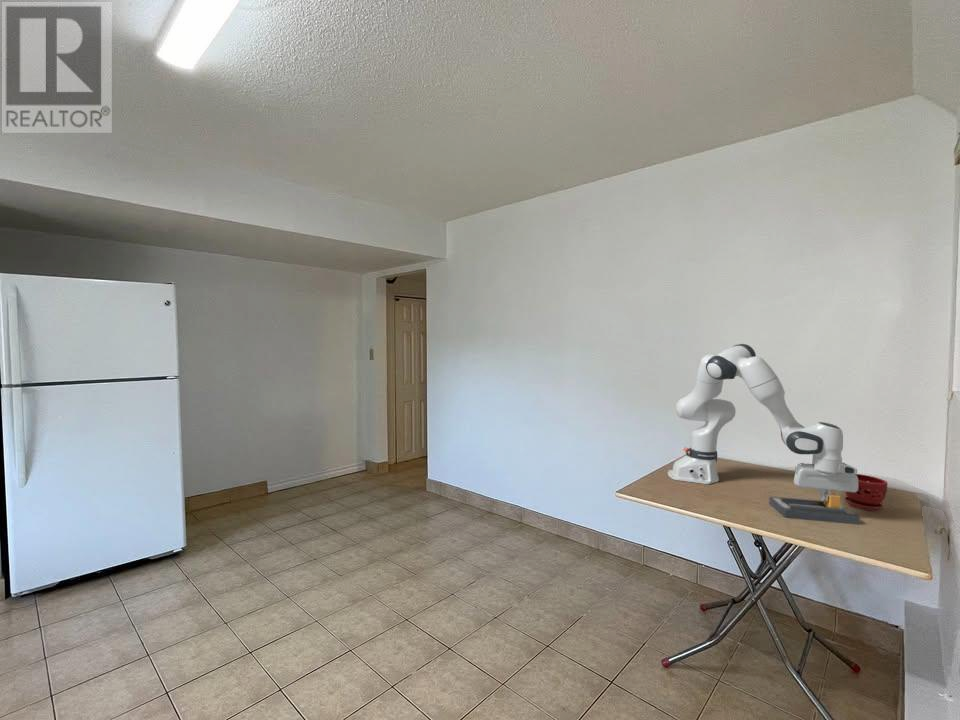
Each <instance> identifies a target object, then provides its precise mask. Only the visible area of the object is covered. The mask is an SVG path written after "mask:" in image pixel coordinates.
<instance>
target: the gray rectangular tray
mask: <svg viewBox="0 0 960 720" xmlns="http://www.w3.org/2000/svg"><path fill="white" fill-rule="evenodd" d="M768 499H769V505H770V506H771V507H772V508H773V507H774V508H773V509H775V511H777V512H778V513H779V515H781V516H782V517H783V518H785V519H796V520H797V519H798V520H808V521H818V522H819V521H820V522H829V523H841V524H850V525H860V515H859V514H856V513H855V512H853V510H850V509H848V508H847V507H846V506H844V505H842V504H841V503H840V508H835V507H827V506H825V505H824V501H822V500H821V499H807V498H798V497H797V498H796V497H785V496H781V497H777V496H776V497H775V496H769V498H768Z"/></svg>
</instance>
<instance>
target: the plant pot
mask: <svg viewBox="0 0 960 720" xmlns="http://www.w3.org/2000/svg"><path fill="white" fill-rule="evenodd" d="M855 475H857V477H858V491H857V492H845V495H846V497H844V501H845V503H847V504H848V505H850V506H851V507H854V508H856V509H861V510H867V511H879V510H882V509H883V504H882V503H883V502H884V500H885V497H886V495H887V491H888V484H889V483H888V482H887V481H886V480H884V479H881V478H879V477H875V476H870V475H866V474H860V473H859V474H858V473H856V474H855Z"/></svg>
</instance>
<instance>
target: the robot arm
mask: <svg viewBox="0 0 960 720" xmlns="http://www.w3.org/2000/svg"><path fill="white" fill-rule="evenodd" d="M736 377H739V378H741V379H742V381H743V382H744V384H745V385H746V387H747V388H748V390H749V392H750V393H751V395H753V397H754V398H755V399H756V400H757V401H758V402H759V403H760V404H761V405H763V406H764V407H766V408H767V410H768V411H769V412H770V413H771V415H772V416H773V418H774V419H775V422H776V423H777V425H778V427H779V428H780V437H781V440H782V443H784V445H785V446H786V447H787V448H788V450H790V451H791V452H793V453H794V454H797V455H812V460H811V461H812V463H805V462H800V463H798V464H796V465H795V468H794V471H795V473H794V478H793V483H794V484H795V486H797V487H798V488H804V489H814V490H817V491H818V494H819V496H820V500H822V501H828V497H829V495H830V494H831V493H832V492H833V491H836V492H857V491H858V488H859V487H858V477H857V475H855V474H858V469H857V467H853V466H852V465H850V464H847V463H845V462H843V457H842V452H843V450H844V449H843V448H844V434H843V433H844V432H843V430H842V429H841V428H840V427H839V426H837V425H835V424H832V423H829V422H824V421H818V422H817V423H815V424H813V425H809V426H806V427H805V426H804V425H802V424H801V423H799V422H798V421H797V419H796V418H795V417H794V414H792V411H790V409H789V407H788V405H787V404H786V400H785V390H784V389H785V388H784V387H783V384H782V383H781V380H780V379H779V377H778V376H777V374H776V372H775V371H774V369H773V368H772V367H771V366H770V365H769V364H768V363H767V361H765V359H763V358H762V357H760V356H757V355H756V352H755V350H754V349H753V347H752V346H750V345H749V344H745V343H738V344H735V345H733V346H731V347H727V348H726V349H723V350H722V351H720V352H718V353H717V354H715V353H714V354H713V353H711V354H706V355H704V356H703V357H702V358H701V360H700V362H699V365H698V367H697V371H696V378H695V384H694V386H693V387H694V388H693V389H692V391H690V392H689V394H687V395H686V396H684V397H682V398H679V400H678V401H677V402H676V404H675V412H676V415H677V416H678V417H679V419H683V420H686V421H687V420H688V421H698V422H705V423H704V425H703V426H700V427H697V428H696V429H693V431H692V432H691V434H690V437H691V438H690V447H689V448H688V447H687V446H686V447H683V451H684V452H685V455H684V456H682V457H681V458H678V459H677V460H675V461H674V463H673V466H672V469H668V470H667V475H668V477H669V478H670V479H672V480H675V481H682V482H689V483H695V484H696V483H697V484H703V485H711V484H714V483H718V482H719V481H720V478H719V475H718V468H717V462H718V451H717V444H718V437H719V433H720V431H721V430H722V429H723V427H725V425H726V424H728V423H729V422H731V421H732V420H733V419H734V418H735V416H736V413H737V412H736V411H737V410H736V406H735V405H734V404H733V402H731V401H730V400H726V399H721V398H718V396H719V395H721V393H722V390H723V384H724V380H734V379H735V378H736ZM824 492H825V494H824Z"/></svg>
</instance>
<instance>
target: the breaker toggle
mask: <svg viewBox="0 0 960 720" xmlns="http://www.w3.org/2000/svg"><path fill="white" fill-rule="evenodd" d="M825 492H826V491H825ZM825 492H823V494H825ZM840 504H841V496H840V495H838V494H837V493H836V492H833V491H832V493H831V494H830V495H829V497H828V501H824V505H825V506H827V507H835V508H840Z"/></svg>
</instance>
